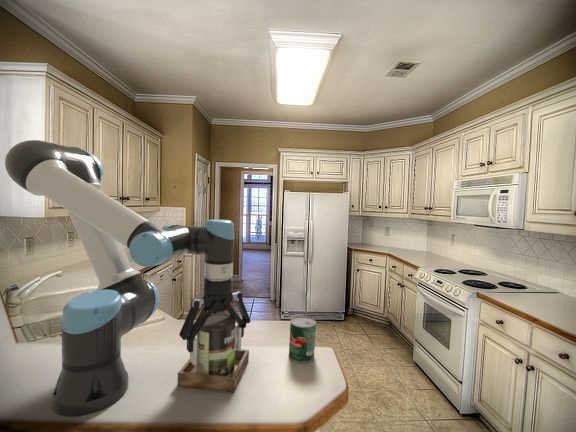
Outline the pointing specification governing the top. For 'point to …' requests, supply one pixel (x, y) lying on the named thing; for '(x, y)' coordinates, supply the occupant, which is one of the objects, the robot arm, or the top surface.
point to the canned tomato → (302, 339)
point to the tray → (214, 382)
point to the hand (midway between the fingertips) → (216, 355)
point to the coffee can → (216, 346)
